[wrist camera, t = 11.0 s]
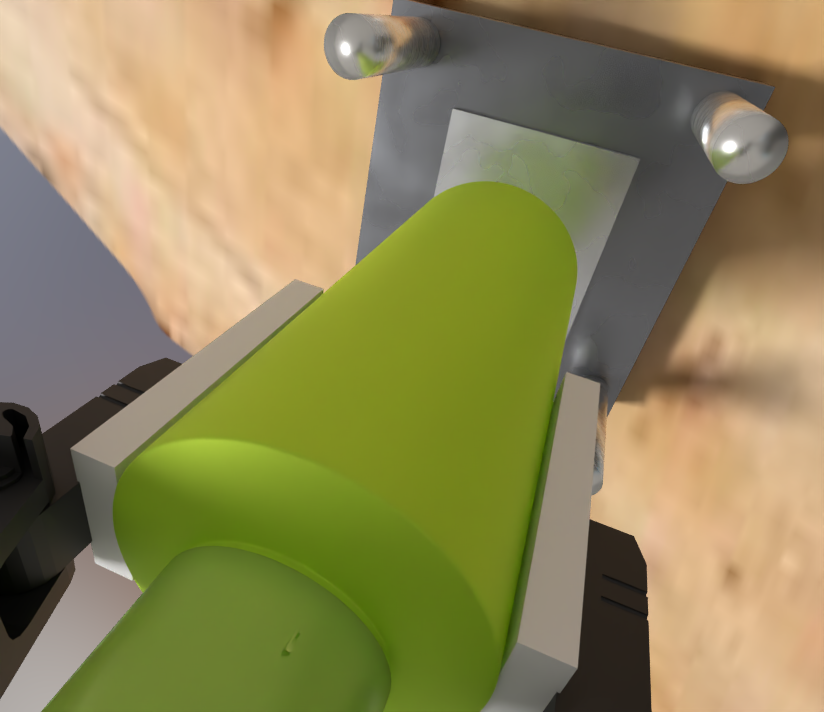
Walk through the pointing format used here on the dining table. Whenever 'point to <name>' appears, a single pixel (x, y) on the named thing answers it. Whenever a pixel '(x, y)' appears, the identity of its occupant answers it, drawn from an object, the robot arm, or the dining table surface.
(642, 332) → the display stand
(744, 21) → the dining table surface
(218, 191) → the dining table surface
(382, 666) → the soap dispenser
